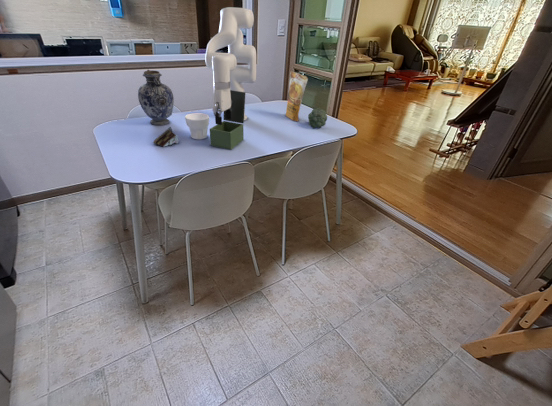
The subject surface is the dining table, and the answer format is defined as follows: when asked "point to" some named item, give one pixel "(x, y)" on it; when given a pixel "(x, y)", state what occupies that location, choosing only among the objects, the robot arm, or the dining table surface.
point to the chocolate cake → (166, 138)
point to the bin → (226, 135)
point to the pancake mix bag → (295, 94)
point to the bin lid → (237, 107)
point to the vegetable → (317, 118)
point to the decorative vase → (156, 98)
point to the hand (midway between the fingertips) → (223, 121)
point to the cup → (197, 124)
